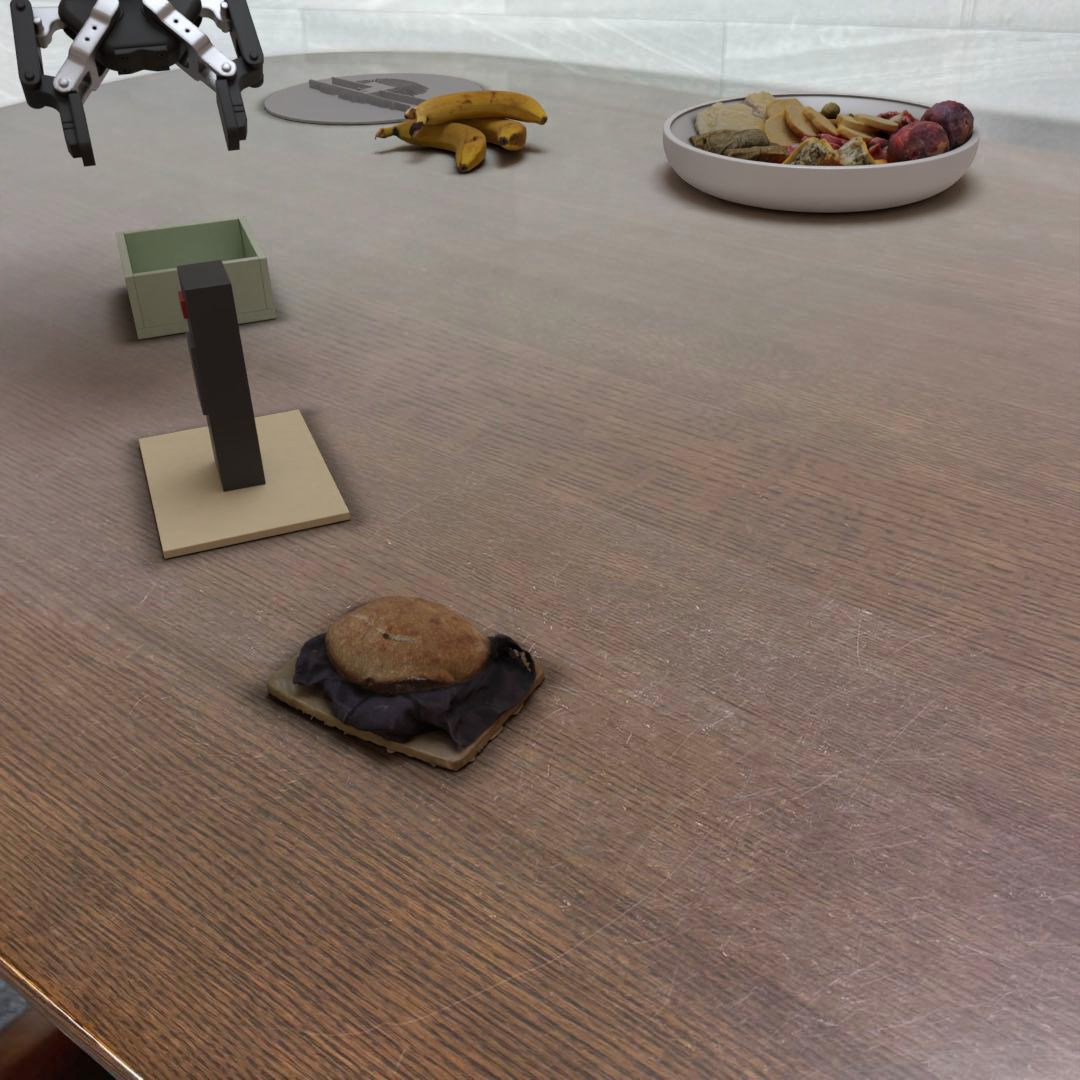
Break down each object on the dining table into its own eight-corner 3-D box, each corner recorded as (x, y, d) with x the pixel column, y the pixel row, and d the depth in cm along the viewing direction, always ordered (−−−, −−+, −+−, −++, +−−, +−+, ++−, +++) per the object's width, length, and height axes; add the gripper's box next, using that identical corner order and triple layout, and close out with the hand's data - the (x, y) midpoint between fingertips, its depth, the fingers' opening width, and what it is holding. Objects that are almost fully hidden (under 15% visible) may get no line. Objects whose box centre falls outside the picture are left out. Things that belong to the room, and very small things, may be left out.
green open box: (138, 339, 89) (124, 277, 86) (128, 290, 98) (115, 232, 95) (276, 318, 92) (266, 257, 89) (254, 272, 101) (244, 215, 98)
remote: (219, 493, 68) (179, 290, 62) (210, 462, 71) (171, 266, 65) (266, 484, 69) (231, 283, 62) (255, 453, 72) (221, 259, 66)
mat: (350, 519, 66) (349, 511, 66) (164, 559, 63) (162, 551, 63) (299, 416, 77) (298, 408, 77) (139, 445, 74) (138, 438, 74)
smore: (254, 702, 53) (240, 635, 51) (372, 605, 59) (364, 542, 57) (451, 785, 48) (443, 715, 46) (558, 670, 54) (556, 604, 52)
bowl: (630, 212, 111) (631, 125, 107) (693, 133, 135) (696, 59, 131) (970, 234, 103) (985, 141, 99) (972, 146, 127) (985, 68, 123)
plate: (225, 99, 157) (224, 90, 157) (402, 67, 172) (401, 57, 171) (339, 137, 139) (338, 126, 138) (526, 96, 154) (526, 86, 153)
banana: (384, 138, 138) (379, 86, 135) (550, 135, 137) (548, 82, 134) (363, 175, 125) (357, 118, 122) (546, 171, 124) (545, 114, 121)
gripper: (-24, -118, 70) (26, 128, 67) (224, -130, 74) (282, 102, 71) (2, -28, 77) (48, 198, 74) (227, -44, 81) (280, 171, 78)
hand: (162, 151), depth 72 cm, fingers open, 8 cm apart
